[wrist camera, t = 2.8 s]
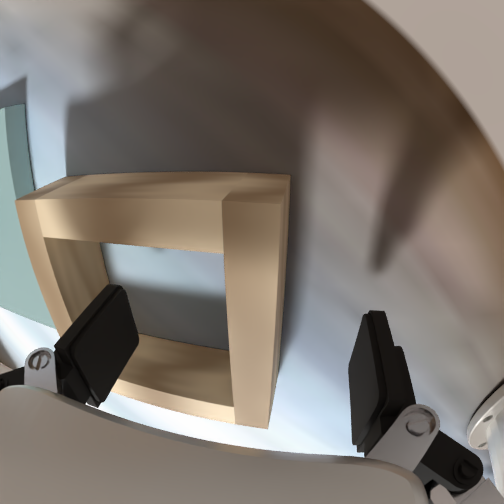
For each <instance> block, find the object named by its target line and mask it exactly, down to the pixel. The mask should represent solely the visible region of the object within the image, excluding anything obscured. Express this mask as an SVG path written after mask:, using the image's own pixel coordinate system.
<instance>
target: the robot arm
mask: <svg viewBox="0 0 504 504" xmlns="http://www.w3.org/2000/svg"><path fill="white" fill-rule="evenodd" d="M138 344H139V335H138V332H137V329H136V325H135V322H134V319H133V315H132V312H131V308H130V305H129V301H128V297H127V293H126V291H125V290H123V287H122V286H120V285H113V284H108V285H106V286H105V288H104V289H103V290H102V291H101V292H100V293H99V294H98V295H97V296H96V297H95V299H94V300H93V301H92V302H91V303H90V304H89V305H88V306H87V307H86V309H85V310H84V311H83V312H82V313H81V314H80V315H79V317H78V318H77V319H76V320H75V321H74V322H73V324H72V325H71V326H70V327H69V328H68V329H67V331H66V332H65V333H64V334H63V335H62V337H61V338H60V339H59V340H58V341H57V343H56V344H55V345H54V347H55V349H56V350H55V351H54V352H53V351H52V350H51V349H49V348H38V349H36V350H34V351H33V352H31V353H30V354H29V355H28V357H27V358H26V361H25V366H24V367H21V368H18V369H15V370H12V371H9V372H5V373H2V374H0V504H504V384H503V385H502V386H501V387H500V388H499V389H498V390H496V391H495V392H494V393H493V394H492V395H491V396H490V397H489V398H488V399H487V400H486V401H485V402H484V404H483V405H482V406H481V407H480V408H479V410H478V411H477V412H476V413H475V415H474V416H473V418H472V419H471V421H470V423H469V425H468V428H467V438H468V442H469V445H470V446H471V447H472V448H475V449H483V450H484V449H489V454H490V458H491V463H492V467H493V472H494V478H495V483H496V487H495V486H494V484H493V483H492V482H491V481H490V479H489V478H487V479H486V480H485V478H484V477H483V476H482V475H483V464H482V462H481V460H480V458H479V457H478V456H477V455H475V454H474V453H472V452H471V451H469V450H468V449H466V448H465V447H463V446H462V445H460V444H459V443H458V442H456V441H455V440H453V439H452V438H450V437H449V436H447V435H446V434H444V433H443V432H441V431H440V430H439V428H440V420H439V417H438V415H437V414H436V412H435V411H434V410H433V409H431V408H430V407H428V406H426V405H422V404H416V400H415V396H414V391H413V387H412V383H411V379H410V375H409V371H408V367H407V363H406V359H405V355H404V352H403V349H402V347H401V346H394V342H393V339H392V335H391V331H390V328H389V324H388V320H387V317H386V313H385V311H374V310H370V311H369V312H368V314H364V315H363V317H362V321H361V325H360V328H359V332H358V336H357V339H356V342H355V346H354V349H353V352H352V356H351V359H350V362H349V367H348V374H349V388H350V405H351V426H352V444H353V445H357V452H364V457H365V458H363V457H354V456H337V455H319V454H303V453H291V452H281V451H271V450H262V449H254V448H247V447H240V446H234V445H228V444H223V443H217V442H212V441H207V440H202V439H197V438H193V437H188V436H184V435H180V434H176V433H172V432H168V431H164V430H160V429H157V428H153V427H150V426H146V425H143V424H140V423H136V422H133V421H130V420H127V419H124V418H121V417H118V416H115V415H112V414H109V413H106V412H104V411H101V410H98V409H96V408H93V407H90V406H88V405H85V404H86V402H87V403H88V404H89V405H91V406H94V407H97V408H98V407H99V405H100V404H101V402H104V401H105V400H106V398H107V396H108V395H109V393H110V391H111V390H112V388H113V386H114V384H115V383H116V381H117V379H118V378H119V376H120V374H121V373H122V371H123V369H124V368H125V366H126V364H127V363H128V361H129V359H130V358H131V356H132V354H133V353H134V351H135V349H136V348H137V346H138Z"/></svg>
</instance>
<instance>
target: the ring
mask: <svg viewBox="0 0 504 504" xmlns="http://www.w3.org/2000/svg"><path fill="white" fill-rule="evenodd" d="M290 178H291V175H284V174H266V173H241V172H137V173H113V174H96V175H81V176H68V177H64V178H62V179H59V180H57V181H55V182H52V183H50V184H48V185H46V186H44V187H41V188H39V189H37V190H35V191H33V192H31V193H29V194H27V195H25V196H23V197H21V198H18V199H17V200H15V205H16V210H17V214H18V218H19V223H20V226H21V230H22V234H23V238H24V241H25V245H26V248H27V252H28V255H29V258H30V261H31V264H32V267H33V270H34V273H35V276H36V279H37V282H38V285H39V287H40V290H41V293H42V295H43V298H44V301H45V303H46V306H47V308H48V310H49V313H50V315H51V318H52V320H53V322H54V325H55V327H56V329H57V331H58V333H59V336H60V338H61V337H62V335H63V334H64V333H65V332H66V331H67V329H68V328H69V327H70V326H71V325H72V324H73V322H74V321H75V320H76V319H77V318H78V317H79V315H80V314H81V313H82V312H83V311H84V310H85V309H86V307H87V306H88V305H89V304H90V303H91V302H92V301H93V300H94V299H95V297H96V296H97V295H98V294H99V293H100V292H101V291H102V290H103V289H104V288H105V286H106V285H108V284H110V283H109V280H108V276H107V272H106V268H105V264H104V260H103V256H102V251H101V247H100V242H103V243H113V244H124V245H135V246H145V247H156V248H167V249H178V250H189V251H200V252H211V253H222V254H224V269H225V287H226V305H227V321H228V336H229V351H228V350H222V349H216V348H210V347H204V346H198V345H193V344H187V343H182V342H177V341H172V340H167V339H162V338H157V337H153V336H148V335H143V334H139V333H138V335H139V344H138V346H137V348H136V349H135V351H134V353H133V354H132V356H131V358H130V359H129V361H128V363H127V364H126V366H125V368H124V369H123V371H122V373H121V374H120V376H119V378H118V379H117V381H116V383H115V384H114V386H113V388H112V390H111V392H114V393H117V394H120V395H123V396H126V397H129V398H132V399H135V400H138V401H141V402H145V403H148V404H151V405H155V406H158V407H162V408H165V409H169V410H173V411H177V412H181V413H185V414H189V415H193V416H197V417H202V418H206V419H211V420H216V421H221V422H226V423H232V424H237V425H243V426H250V427H256V428H263V429H268V425H269V420H270V415H271V410H272V404H273V399H274V394H275V388H276V383H277V377H278V367H279V356H280V344H281V332H282V319H283V306H284V292H285V277H286V261H287V243H288V224H289V203H290Z"/></svg>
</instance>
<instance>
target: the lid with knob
mask: <svg viewBox="0 0 504 504" xmlns="http://www.w3.org/2000/svg"><path fill="white" fill-rule="evenodd" d="M33 191H35V190H34V185H33V179H32V173H31V166H30V159H29V151H28V142H27V132H26V119H25V104H19V105H14V106H9V107H4V108H2V109H0V307H2V308H4V309H7V310H9V311H11V312H14V313H16V314H18V315H21V316H23V317H26V318H28V319H31V320H33V321H36V322H39V323H41V324H44V325H46V326H49V327H52V328H55V329H56V327H55V325H54V322H53V320H52V318H51V315H50V313H49V310H48V308H47V306H46V303H45V301H44V298H43V295H42V293H41V290H40V287H39V285H38V282H37V279H36V276H35V273H34V270H33V267H32V264H31V261H30V258H29V255H28V252H27V248H26V245H25V241H24V238H23V234H22V230H21V226H20V223H19V218H18V214H17V210H16V205H15V200H17V199H18V198H21V197H23V196H25V195H27V194H29V193H31V192H33Z"/></svg>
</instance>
